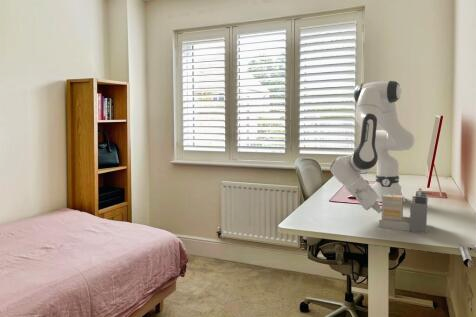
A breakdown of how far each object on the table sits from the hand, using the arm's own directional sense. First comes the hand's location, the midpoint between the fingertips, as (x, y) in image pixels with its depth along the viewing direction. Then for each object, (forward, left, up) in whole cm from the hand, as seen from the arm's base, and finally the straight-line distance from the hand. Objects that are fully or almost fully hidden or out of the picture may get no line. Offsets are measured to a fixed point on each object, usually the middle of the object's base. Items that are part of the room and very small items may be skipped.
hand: (380, 211), depth 164 cm
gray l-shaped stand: (0, +9, -5) cm, 11 cm away
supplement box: (0, +5, -6) cm, 7 cm away
